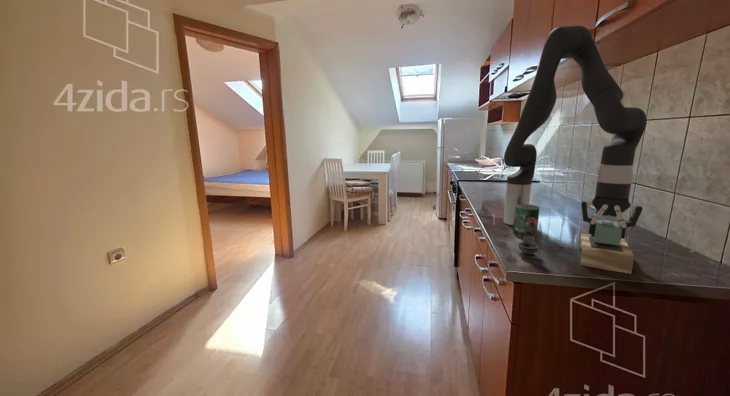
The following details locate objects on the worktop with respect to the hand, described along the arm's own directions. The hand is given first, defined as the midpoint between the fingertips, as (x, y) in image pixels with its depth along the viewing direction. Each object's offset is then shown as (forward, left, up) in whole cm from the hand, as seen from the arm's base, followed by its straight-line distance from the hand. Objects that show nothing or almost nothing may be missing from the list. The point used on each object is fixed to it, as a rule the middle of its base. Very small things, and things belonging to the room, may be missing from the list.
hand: (605, 237), depth 88 cm
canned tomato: (-14, -22, -7) cm, 27 cm away
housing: (0, 0, 0) cm, 0 cm away
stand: (0, 0, -7) cm, 7 cm away
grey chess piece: (+8, -19, -7) cm, 22 cm away
